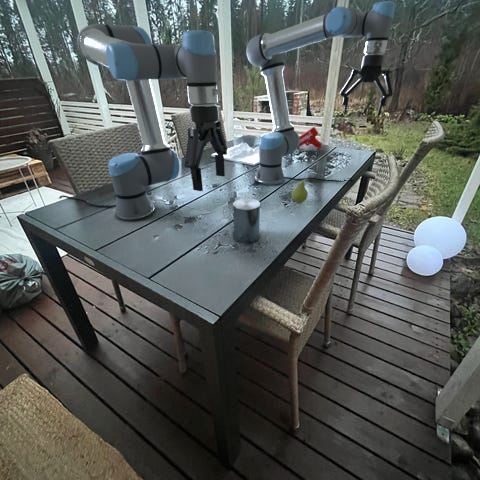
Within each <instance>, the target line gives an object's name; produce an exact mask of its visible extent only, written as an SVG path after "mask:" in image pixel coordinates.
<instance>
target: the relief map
mask: <svg viewBox="0 0 480 480" xmlns="http://www.w3.org/2000/svg"><path fill="white" fill-rule="evenodd" d="M259 151H260V146H257V147H255V148H254V147H252V146H250V145H249V144H248V143H247V142H243V141H241V142H240V143H239V144H236V145H234V146H232V147H228V148H227V155H224V160H226V161H231V162H235V163H240V164H245V165H250V166H256V165H259ZM215 155H218V154H217V153H216V152H215V153H211V155H210V157H213V158H215Z"/></svg>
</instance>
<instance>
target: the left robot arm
mask: <svg viewBox="0 0 480 480" xmlns="http://www.w3.org/2000/svg"><path fill="white" fill-rule="evenodd" d="M181 40H182V42H181V44H159V43H157V44H156V43H153V42H152V39H151V37H150V35H149V34H148V32H147V31H146V30H145V29H144V28H143V27H140V26H136V25H135V26H134V25H131V24H129V25H124V24H107V23H105V24H104V23H92V24H88V25H86V26H84V27H83V28H82V29H81V30H80V31H79V32H78V34H77V37H76V43H77V48H78V50H79V52H80V54H81V56H82V57H83V58H84V59H85V60H86V61H87V62H89V63H90V64H93V65H95V66H99V67H103V66H105V67H107V68H108V70H109V72H110V73H111V75H112V77H113V78H114V79H115V80H117V81H125V82H126V86H127V89H128V93H129V96H130V101H131V104H132V109H133V112H134V116H135V120H136V123H137V127H138V130H139V134H140V138H141V141H142V142H141V143H142V145H143V146H142V148H141V150H140V153H141V155H139V154H138V153H137V152H126V153H123V154H122V153H121V154H118V155H116V156H114V157H112V158H111V159H110V160H109V161H108V163H107V167H108V175H109V176H110V179H111V183H112V187H113V190H114V193H115V197H116V202H115V204H110V205H109V204H95V203H91V202H90V201H89V200H87V199H85V198H81V197H72V196H68V195H64V194H63V195H60V196H59V197H58V199H62V198H66V199H70V200H77V201H82V202H86V203H87V204H88V205H90V206H92V207H98V208H115V215H116V218H117V219H119V220H120V221H125V222H127V221H128V222H132V221H133V222H134V221H140V220H144V219H146V218H148V217H151V216H152V215H153V214H154V213H155V210H156V209H155V205H154V202H153V201H151V198H150V196H149V194H148V191H147V188H146V187H149V186H152V185H156V184H160V183H165V182H166V183H167V182H169V181H173V180H175V179H177V177H178V176H179V173H180V169H181V168H180V159H179V156H178V154H177V152H176V151H175V150H172V149H171V145H169V144H168V143H167V142H166V140H165V136H164V131H163V127H162V124H161V123H162V122H161V119H160V115H159V111H158V106H157V102H156V98H155V93H154V90H153V86H152V82H151V80H184V79H186V85H187V97H188V99H187V100H188V104H190V105H191V106H190V107H189V115H190V121H191V122H192V123H194V128H193V127H189V128H187V144H186V151H185V158H184V163H183V164H184V168H189V169H190V177H191V181H192V190H193V191H197V192H203V190H204V188H203V177H202V167H200V163H201V161H202V157H203V152H204V149H205V147H207V145H208V143H210V145H211V146H212V148H213V151H214V152H215V153H217V154H218V155H215V157H214V161H215V175H216V176H217V177H225V176H226V173H225V159H224V155H227V149H228V146H227V143H226V138H225V135H224V132H223V129H222V122H221V121H220V120H219V119H220V116H219V115H220V114H219V106H218V105H217V104H218V103H219V102H218V101H219V99H218V94H219V91H218V79H217V57H216V54H217V51H216V48H215V47H216V46H215V37H214V34H213V33H212V32H211V31H209V30H202V29H195V30H194V29H193V30H186V31H184V32H183V33H182V35H181Z"/></svg>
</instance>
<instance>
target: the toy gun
mask: <svg viewBox="0 0 480 480" xmlns="http://www.w3.org/2000/svg"><path fill="white" fill-rule="evenodd" d="M318 134H319V131H318V130H317V128H316V127H315V126H312V127H311V128H310V129H308V130H307V131H305V132H303V133H302V134H300V135H299V139H300V143H299V146H298V147H299V148H300V147H302V146H304V145H305V146H306V147H309V146H310V145H312V146H313V147H314V148H316V147H318V149H319V147H320V149H321V148H322V145H323V143H322V142H321V140H320V141H319V140H318V138H317V136H318Z"/></svg>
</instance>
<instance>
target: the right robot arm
mask: <svg viewBox="0 0 480 480" xmlns="http://www.w3.org/2000/svg"><path fill="white" fill-rule="evenodd" d="M395 10H396V2H394V1H391V0H385V1H379V2H375V3H374V4H373V6H372V8H371V10H368V11H355V10H352V9H350V8H348V7H346V6H335V7H334V8H332V9H331V10H330V12H328V13H325V14H322V15H320V16H317V17H314V18H311V19H308V20H306V21H302V22H300V23H297V24H294V25H292V26H289V27H287V28H283V29H281V30H279V31H276V32H273V33H269V32H265V33H261V34H258V35H255V36H253V37H252V38H251V39H250V40H249V42H248V43H247V44H246V45H247V46H246V57H247V60H248V61H249V63H250V64H251V65H252V66H253V67H254V66H255V67H258V68H259V70H260V74H261V75H262V76H263V77H264V80H265V84H266V90H267V96H268V101H269V107H270V108H269V109H270V112H271V118H272V124H273V125H272V126H273V129H272V131H271V132H266V133H263V134H262V135H261V136H260V138H259V143H258V145H259V146H260V151H259V164H258V167H257V171H254V174H255V177H254V181H255V183H258V184H259V185H262V186H263V185H264V186H279V185H281V184H283V183H284V181H285V180H292V181H302V180H305V179H306V178H307V177H302V178H295V177H289V176H285V175H284V172H283V171H284V170H283V167H282V165H283V158H284V157H286V156H287V155H288V156H289V155H291V154H293V153H294V152H296V151H297V150H298V149H299V148H298V146H299V143H300V139H299V136H300V135H299V133H297V132H296V130H295V126H294V125H293V124H292V123H291V119H290V113H289V107H288V101H287V94H286V88H285V81H284V74H283V71H284V69H285V61H286V58H287V52H290V51H293V50H296V49H299V48H300V49H301V48H303V47H305V46H309V45H312V44H314V43H319V42H322V41H325V40H329V39H333V38H335V37H338V38H340V39H342V38H343V39H348V38H359V37H366V40H365V41H366V42H365V47H364V50H363V54H364V55H363V56H362V61H361V67H360V69H352V71H351V73H350V76H349V78H348V79H347V81H346V82H345V84H344V85H343V87H342V89H341V90H340V92H339V95H340V96H342V97H343V99H342V106H343V107H344V109H343V115H347V112H348V111H347V110H348V105H349V100H350V97H349V96H350V95H351V93H352V92H353V91H355V89H356V88H357V87H358V86H359V85H361V83H375V84H376V87H377V89H378V90H379V92H380V93H381V95H382V96H380V99H379V103H378V107H377V112H376V116H381V111H382V109H383V107H385V106H386V103H387V99H388V97H389V98H390V97H392V96H393V95H394V93H393V88H392V84H391V78H390V71H391V70H390V69H389V68H387V69H383V64H384V61H385V60H384V59H385V55H384V54H385V53H386V51H387V47H388V46H387V45H388V42H389V36H390V34H391V30H392V29H391V28H392V25H393V20H394V17H395V12H396V11H395ZM357 75H359V78H358V79H357V81H356V82H355V83H354V84H352V86H350V84H351V83H352V82H353V80H354V78H355V77H357ZM381 75H382V76H383V77H384V82H385V86H386V90H385V88H384V86H383V84H382V82H381V80H380V78H379V77H381ZM349 86H350V88H348V87H349ZM259 146H258V147H259ZM326 179H327V178H326ZM326 179H325V178H319V179H318V177H309V178H307V179H306V180H317V181H322V182H333V183H342V182H343V183H344V182H347V181H348V180H345V179H343V180H344V181H341V180H342V179H328V180H326ZM347 179H350V180H349V181H350V182H354V180H353V179H352V178H347ZM306 180H305V181H306ZM339 180H340V181H339Z"/></svg>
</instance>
